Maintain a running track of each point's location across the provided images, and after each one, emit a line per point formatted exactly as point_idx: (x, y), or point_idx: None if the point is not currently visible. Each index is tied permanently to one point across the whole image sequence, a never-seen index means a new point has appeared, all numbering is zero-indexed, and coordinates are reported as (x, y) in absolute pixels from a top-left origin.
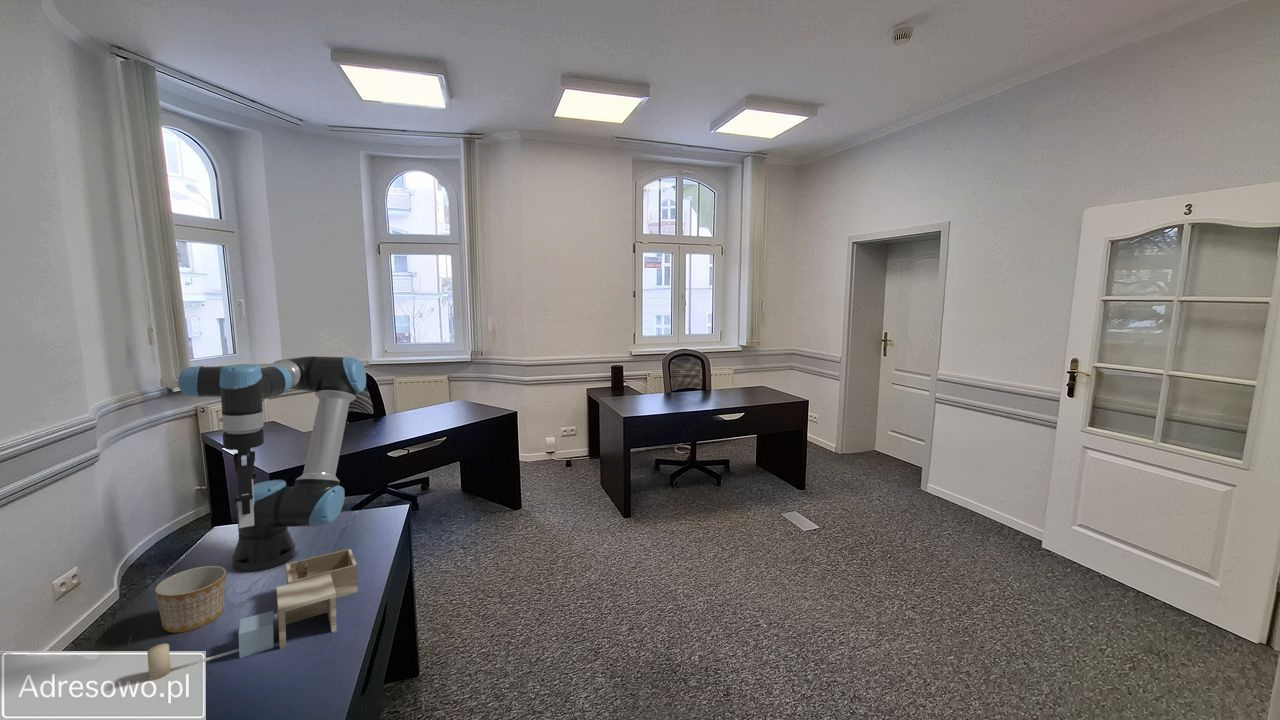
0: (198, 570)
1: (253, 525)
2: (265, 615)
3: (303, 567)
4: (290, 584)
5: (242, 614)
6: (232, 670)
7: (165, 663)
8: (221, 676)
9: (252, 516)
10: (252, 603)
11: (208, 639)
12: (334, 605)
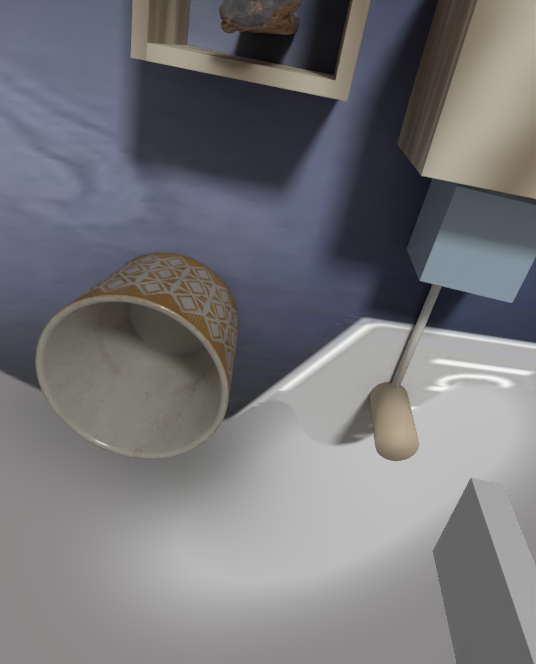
0: (49, 353)
1: (501, 490)
2: (468, 215)
3: (289, 5)
4: (449, 119)
5: (235, 213)
6: (521, 290)
7: (411, 412)
8: (522, 312)
9: (531, 577)
10: (183, 176)
11: (310, 304)
12: None
